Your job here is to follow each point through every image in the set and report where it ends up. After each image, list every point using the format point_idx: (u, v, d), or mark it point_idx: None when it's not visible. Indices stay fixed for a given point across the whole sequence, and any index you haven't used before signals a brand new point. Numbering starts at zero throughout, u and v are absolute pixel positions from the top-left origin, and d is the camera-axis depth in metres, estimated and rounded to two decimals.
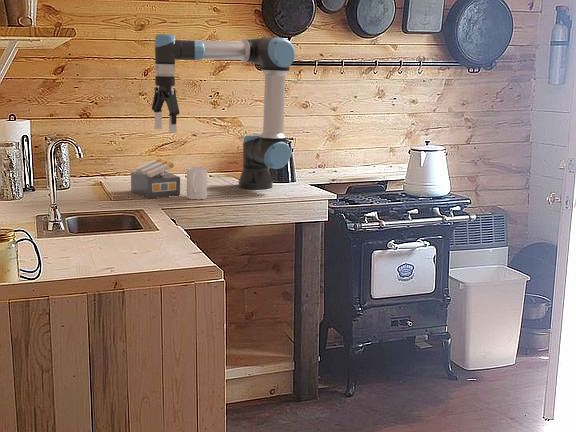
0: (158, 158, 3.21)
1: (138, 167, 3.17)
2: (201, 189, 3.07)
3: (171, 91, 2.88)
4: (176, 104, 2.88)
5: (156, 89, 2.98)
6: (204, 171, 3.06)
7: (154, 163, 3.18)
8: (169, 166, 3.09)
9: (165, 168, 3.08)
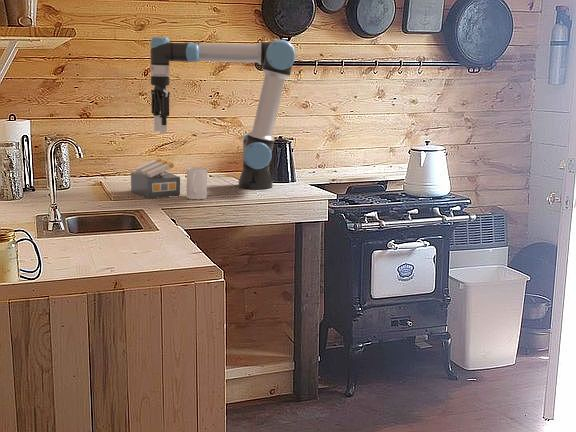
0: (158, 158, 3.21)
1: (138, 167, 3.17)
2: (201, 189, 3.07)
3: (165, 94, 3.09)
4: (167, 107, 3.11)
5: (152, 91, 3.18)
6: (204, 171, 3.06)
7: (154, 163, 3.18)
8: (169, 166, 3.09)
9: (165, 168, 3.08)
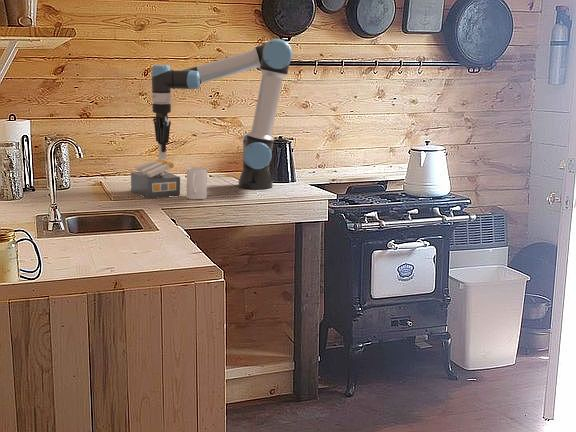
0: None
1: (138, 166, 3.17)
2: (201, 189, 3.07)
3: (166, 124, 3.13)
4: (167, 135, 3.16)
5: (154, 119, 3.21)
6: (204, 171, 3.06)
7: (155, 163, 3.18)
8: (169, 166, 3.09)
9: (165, 168, 3.08)
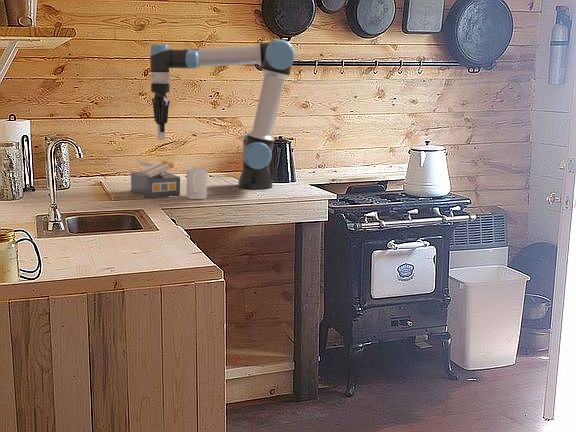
0: None
1: None
2: (201, 189, 3.07)
3: (165, 103, 3.10)
4: (166, 115, 3.13)
5: (153, 99, 3.19)
6: (204, 171, 3.06)
7: None
8: (169, 166, 3.09)
9: (165, 168, 3.08)
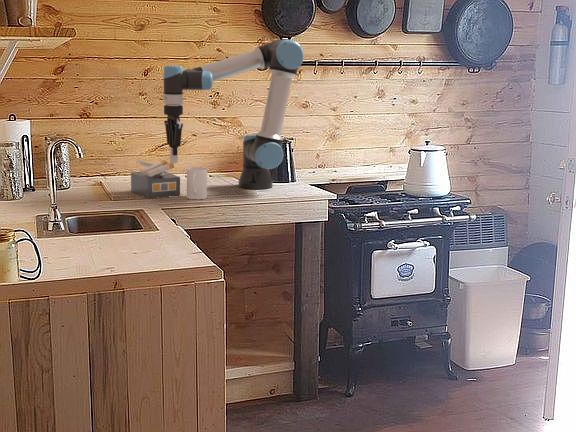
0: None
1: None
2: (201, 189, 3.07)
3: (178, 126, 3.03)
4: (179, 138, 3.06)
5: (165, 121, 3.11)
6: (204, 171, 3.06)
7: None
8: (169, 166, 3.09)
9: (165, 168, 3.08)
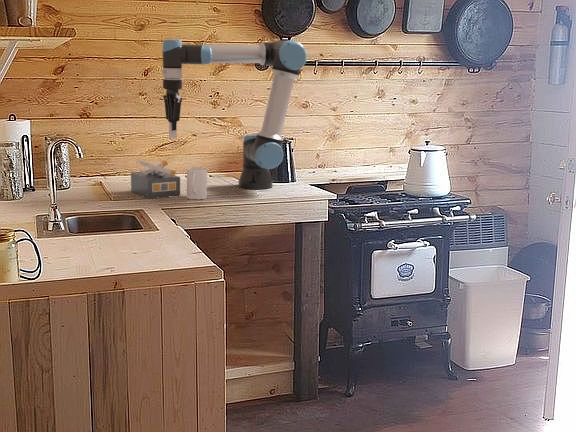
0: None
1: None
2: (201, 189, 3.07)
3: (177, 100, 3.00)
4: (178, 112, 3.03)
5: (164, 96, 3.09)
6: (204, 171, 3.06)
7: None
8: (171, 172, 3.10)
9: (167, 171, 3.09)
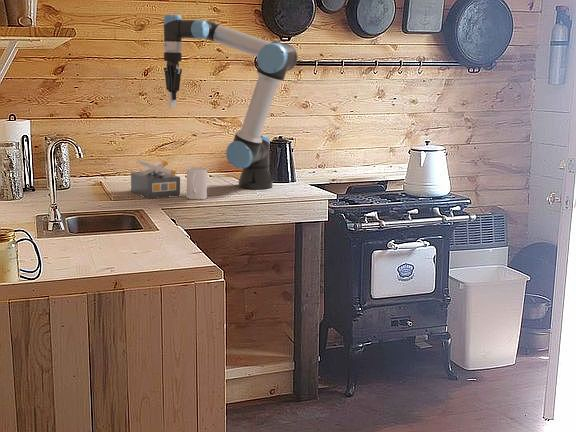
0: None
1: None
2: (201, 189, 3.07)
3: (178, 71, 3.23)
4: (178, 83, 3.26)
5: (165, 68, 3.31)
6: (204, 171, 3.06)
7: None
8: (171, 172, 3.10)
9: (167, 171, 3.09)
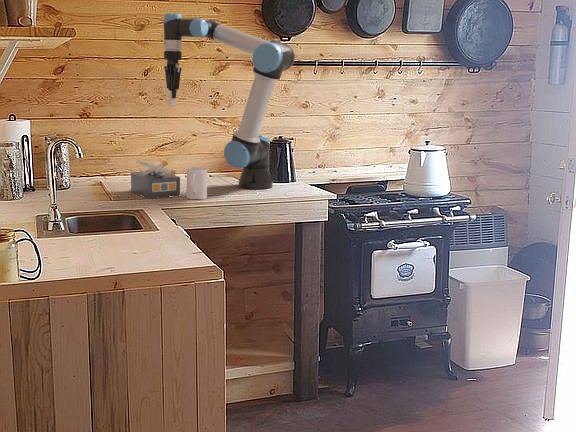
0: None
1: None
2: (201, 189, 3.07)
3: (177, 70, 3.25)
4: (178, 81, 3.28)
5: (165, 67, 3.34)
6: (204, 171, 3.06)
7: None
8: (171, 172, 3.10)
9: (167, 171, 3.09)
